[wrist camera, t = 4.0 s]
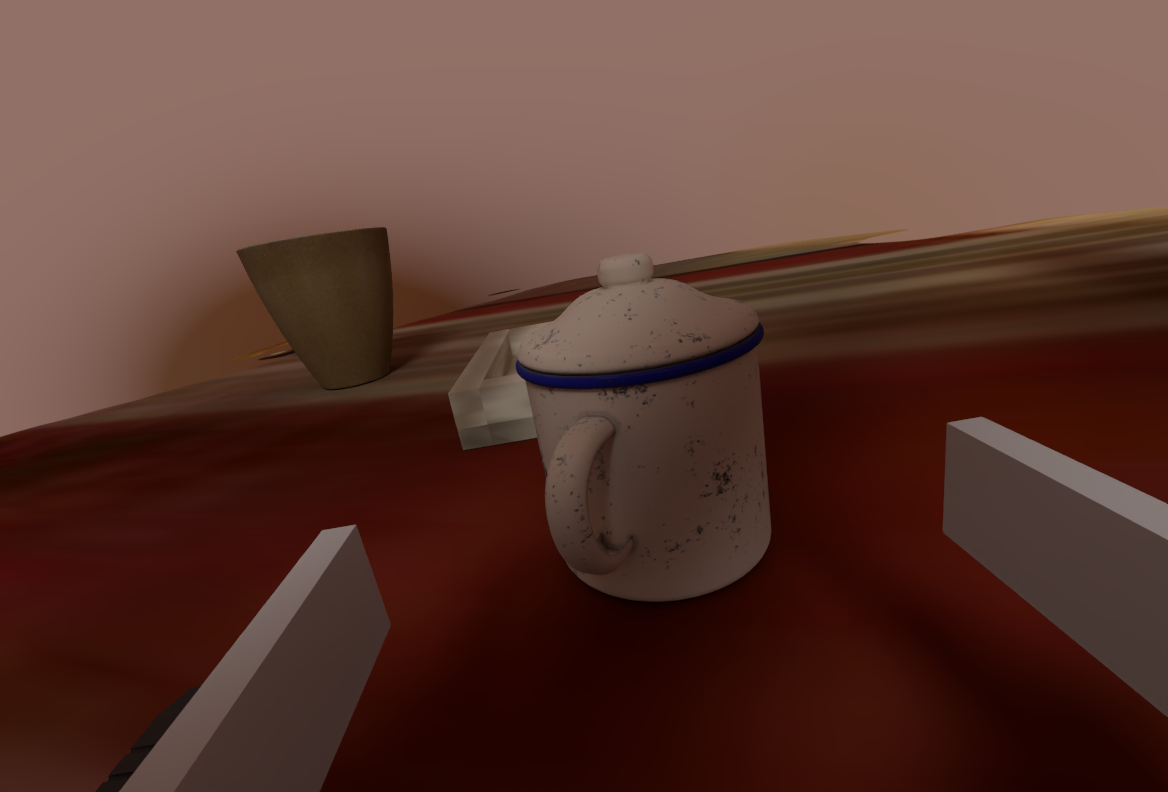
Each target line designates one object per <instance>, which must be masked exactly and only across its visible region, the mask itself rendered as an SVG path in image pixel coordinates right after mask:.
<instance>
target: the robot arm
mask: <svg viewBox="0 0 1168 792" xmlns="http://www.w3.org/2000/svg"><path fill="white" fill-rule="evenodd" d="M943 533H945V534H946V535H947V536H948V537H949V538H951V539H952V540H953V541H954V542H955V543H957V544H958V545H959V546H960V547H962V548H963V549H964V550H965V551H966V552H968V553H969V554H970V555H971V556H972V557H974V558H975V559H976V560H977V561H979V562H980V563H981V564H982V565H983V566H985V567H986V568H987V569H988V570H989V571H991V572H992V573H993V574H994V575H996V576H997V577H998V578H999V579H1000V580H1002V581H1003V582H1004V583H1005V584H1006V585H1008V586H1009V587H1010V588H1011V589H1013V590H1014V591H1015V592H1016V593H1017V594H1019V595H1020V596H1021V597H1022V598H1023V599H1025V600H1026V601H1027V602H1028V603H1030V604H1031V605H1032V606H1033V607H1034V608H1036V609H1037V610H1038V611H1039V612H1040V613H1042V614H1043V615H1044V616H1045V617H1047V618H1048V619H1049V620H1050V621H1051V622H1053V623H1054V624H1055V625H1056V626H1057V627H1059V628H1060V629H1061V630H1062V631H1064V632H1065V633H1066V634H1067V635H1068V636H1070V637H1071V638H1072V639H1073V640H1074V641H1076V642H1077V643H1078V644H1079V645H1081V646H1082V647H1083V648H1084V649H1085V650H1087V651H1088V652H1089V653H1090V654H1091V655H1093V656H1094V657H1095V658H1096V659H1098V660H1099V661H1100V662H1101V663H1102V664H1104V665H1105V666H1106V667H1107V668H1108V669H1110V670H1111V671H1112V672H1113V673H1115V674H1116V675H1117V676H1118V677H1119V678H1121V679H1122V680H1123V681H1124V682H1125V683H1127V684H1128V685H1129V686H1130V687H1132V688H1133V689H1134V690H1135V691H1136V692H1138V693H1139V694H1140V695H1141V696H1142V697H1144V698H1145V699H1146V700H1147V701H1149V702H1150V703H1151V704H1152V705H1153V706H1155V707H1156V708H1157V709H1158V710H1159V711H1161V712H1162V713H1163V714H1164V715H1166V716H1167V717H1168V504H1166V503H1164V502H1162V501H1160V500H1158V499H1156V498H1154V497H1152V496H1149V495H1147V494H1145V493H1143V492H1141V491H1139V490H1137V489H1135V488H1132V487H1130V486H1128V485H1126V484H1124V483H1122V482H1120V481H1118V480H1115V479H1113V478H1111V477H1109V476H1107V475H1105V474H1103V473H1101V472H1098V471H1096V470H1094V469H1092V468H1090V467H1088V466H1086V465H1084V464H1081V463H1079V462H1077V461H1075V460H1073V459H1071V458H1069V457H1067V456H1064V455H1062V454H1060V453H1058V452H1056V451H1054V450H1052V449H1050V448H1047V447H1045V446H1043V445H1041V444H1039V443H1037V442H1035V441H1033V440H1030V439H1028V438H1026V437H1024V436H1022V435H1020V434H1018V433H1016V432H1013V431H1011V430H1009V429H1007V428H1005V427H1003V426H1001V425H999V424H996V423H994V422H992V421H990V420H988V419H986V418H984V417H978V418H972V419H967V420H961V421H955V422H949V423H947V433H946V460H945V487H944V514H943ZM390 626H391V624H390V621H389V618H388V615H387V613H386V610H385V607H384V604H383V601H382V598H381V595H380V592H379V589H378V587H377V584H376V581H375V578H374V575H373V572H372V569H371V566H370V563H369V561H368V558H367V555H366V552H365V549H364V546H363V543H362V540H361V537H360V535H359V532H358V529H357V526H356V525H351V526H345V527H340V528H334V529H328V530H322V532H321V533H320V534H319V535H318V537H317V538H316V539H315V541H314V542H313V543H312V544H311V546H310V547H309V548H308V550H307V551H306V552H305V553H304V555H303V556H302V557H301V559H300V560H299V561H298V562H297V564H296V565H295V566H294V568H293V569H292V570H291V571H290V573H289V574H288V575H287V577H286V578H285V579H284V580H283V582H282V583H281V584H280V586H279V587H278V588H277V589H276V591H275V592H274V593H273V595H272V596H271V597H270V598H269V600H268V601H267V602H266V604H265V605H264V606H263V607H262V609H261V610H260V611H259V613H258V614H257V615H256V616H255V618H254V619H253V620H252V622H251V623H250V624H249V625H248V627H247V628H246V629H245V631H244V632H243V633H242V634H241V636H240V637H239V638H238V640H237V641H236V642H235V643H234V645H233V646H232V647H231V649H230V650H229V651H228V652H227V654H226V655H225V656H224V658H223V659H222V660H221V661H220V663H219V664H218V665H217V667H216V668H215V669H214V670H213V672H212V673H211V674H210V676H209V677H208V678H207V679H206V681H205V682H204V683H203V685H202V686H200V687H194V688H190V689H189V690H188V691H187V692H185V693H184V694H183V695H182V696H181V697H180V698H178V699H177V700H176V701H175V702H174V703H172V704H171V705H170V706H169V707H168V708H167V709H165V710H164V711H163V712H162V713H161V714H160V715H158V716H157V717H156V718H155V720H154V721H153V722H152V723H151V725H150V726H149V727H148V728H147V729H146V731H145V732H144V733H143V734H142V736H141V737H140V738H139V739H138V740H137V742H136V743H135V744H134V745H133V747H132V748H131V753H130V754H128V755H125V756H124V758H123V759H122V760H121V761H120V762H119V764H118V765H117V766H116V767H115V769H114V770H113V771H112V772H111V773H110V775H109V780H108V782H104V783H102V784H101V786H100V787H99V788H98V789H97V790H96V792H320V790H321V787H322V785H323V783H324V780H325V778H326V776H327V773H328V771H329V768H330V766H331V764H332V761H333V759H334V757H335V754H336V752H337V750H338V747H339V745H340V743H341V740H342V738H343V736H344V733H345V731H346V729H347V726H348V724H349V722H350V719H351V717H352V715H353V712H354V710H355V708H356V705H357V703H358V701H359V698H360V696H361V694H362V691H363V689H364V687H365V684H366V682H367V680H368V677H369V675H370V673H371V670H372V668H373V666H374V663H375V661H376V659H377V656H378V654H379V652H380V649H381V647H382V645H383V642H384V640H385V637H386V635H387V633H388V630H389V628H390Z"/></svg>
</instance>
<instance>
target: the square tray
mask: <svg viewBox="0 0 1168 792" xmlns="http://www.w3.org/2000/svg"><path fill="white" fill-rule="evenodd" d="M552 322H553V321H552ZM550 323H551V322H547V323H541V324H536V325H530V326H524V327H519V328H513V329H507V330H502V331H496V332H490V333H489V334H488V336H487V337H486V339H485V340H484V342H483V343H482V345H481V346H480V348H479V349H478V351H477V352H476V354H475V355H474V356H473V358H472V359H471V361H470V362H469V364H468V365H467V367H466V368H465V370H464V371H463V373H462V374H461V376H460V377H459V379H458V380H457V382H456V383H455V384H454V386H453V387H452V389H451V390H450V392H449V393H448V395H449V399H450V403H451V407H452V411H453V414H454V418H455V422H456V426H457V430H458V433H459V437H460V441H461V445H462V449H463V450H468V449H473V448H479V447H485V446H491V445H497V444H502V443H508V442H514V441H520V440H526V439H531V438H537V433H536V428H535V424H534V419H533V414H532V410H531V405H530V400H529V396H528V391H527V386H526V382H525V380H524V379H522V378H521V377H520V376H519V375H518V373H517V371H516V362H517V360H518V358H517V352H518V349H519V346H520V344H521V343H522V341H523V340H524V339H525V338H526V337H527V336H528V335H529V334H531V333H532V332H534V331H536V330H538V329H539V328H542V327H544V326H546V325H548V324H550Z"/></svg>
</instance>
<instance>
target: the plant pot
mask: <svg viewBox="0 0 1168 792" xmlns="http://www.w3.org/2000/svg"><path fill="white" fill-rule="evenodd" d="M236 252H237V254H238V256H239V258H240V260H241V262H242V264H243V266H244V268H245V270H246V272H247V274H248V276H249V278H250V280H251V282H252V283H253V285H254V287H255V289H256V291H257V293H258V295H259V296H260V298H261V300H262V302H263V303H264V305H265V307H266V308H267V310H268V312H269V313H270V315H271V317H272V318H273V320H274V322H275V323H276V325H277V326H278V328H279V329H280V331H281V333H282V334H283V335H284V337H285V338H286V340H287V341H288V343H289V344H290V346H291V347H292V349H293V350H294V351H295V353H296V354H297V356H298V357H299V358H300V360H301V361H302V362H303V363H304V365H305V366H306V367H307V369H308V370H309V371H310V372H311V374H312V375H313V376H314V377H315V378H316V380H317V381H318V382H319V383H320V384H321V386H322V387H323V388H325V389H340V388H346V387H352V386H356V385H360V384H364V383H367V382H371V381H374V380H376V379H379V378H381V377H383V376H385V375H387V374H388V373H389V371H390V362H391V352H392V338H393V289H392V272H391V262H390V253H389V245H388V236H387V229H386V228H384V227H375V228H363V229H354V230H345V231H337V232H329V233H322V234H315V235H308V236H302V237H295V238H289V239H283V240H278V241H272V242H268V243H262V244H257V245H253V246H248V247H245V248H242V249H238V250H237V251H236Z"/></svg>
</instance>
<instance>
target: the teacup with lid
mask: <svg viewBox="0 0 1168 792" xmlns="http://www.w3.org/2000/svg"><path fill="white" fill-rule="evenodd" d="M597 275H598V280H599V282H600V284H601V285H602V286H603V287H601V288H598V289H594V290H592V291H589V292H587V293H585V294H584V295H582V296H580V297H579V298H577V299H576V300H575V301H574V302H573V303H572V304H571V305H570V306H569V307H568V308H567V309H566V310H565V311H564V312H563V313H562V314H561V315H560V316H559V317H558V318H557V319H556V320H554V321H553V322H551V323H550V324H548V325H546V326H544V327H542V328H539V329H538V330H536V331H534V332H532V333H531V334H529V335H528V336H527V337H526V338H525V339H524V340H523V341H522V343H521V344H520V346H519V349H518V352H517V358H518V360H517V362H516V371H517V373H518V375H519V376H520V377H521V378H522V379H524V380H525V382H526V386H527V391H528V396H529V400H530V405H531V410H532V414H533V419H534V424H535V428H536V433H537V438H538V442H539V447H540V451H541V456H542V461H543V465H544V470H545V475H546V486H545V505H546V513H547V519H548V524H549V528H550V531H551V535H552V537H553V540H554V543H555V545H556V547H557V549H558V551H559V552H560V554H561V556H562V557H563V559H564V560H565V561H566V563H567V565H568V566H569V568H570V569H571V570H572V572H573V573H574V574H575V575H576V576H577V577H578V578H579V579H581V580H582V581H583V582H584V583H586V584H588V585H589V586H591V587H593V588H595V589H597V590H599V591H601V592H603V593H606V594H609V595H612V596H615V597H619V598H624V599H629V600H636V601H649V602H664V601H676V600H682V599H688V598H693V597H698V596H701V595H705V594H708V593H711V592H714V591H716V590H719V589H721V588H723V587H726V586H728V585H730V584H731V583H733V582H735V581H737V580H738V579H740V578H741V577H743V576H744V575H745V574H747V573H748V572H749V571H750V570H751V569H752V568H753V567H754V566H755V565H756V564H757V563H758V562H759V561H760V559H761V558H762V557H763V555H764V553H765V551H766V549H767V547H768V545H769V542H770V536H771V520H770V507H769V494H768V481H767V467H766V454H765V441H764V427H763V414H762V401H761V388H760V374H759V361H758V348H757V345H758V344H759V343H760V341H761V340H762V338H763V335H764V331H763V327H762V325H761V323H759V318H758V316H757V314H756V313H755V311H754V310H753V309H752V308H751V307H750V306H749V305H747V304H745V303H743V302H741V301H737V300H733V299H728V298H719V297H713V296H710V295H706V294H704V293H702V292H700V291H698V290H696V289H694V288H692V287H690V286H689V285H687V284H685V283H682V282H679V281H676V280H671V279H651V277H652V275H653V263H652V259H651V257H650V256H649V255H648V254H646V253H644V252H638V253H630V254H623V255H618V256H613V257H609V258H605V259H602V260H601V261H600V262H599V264H598V266H597Z"/></svg>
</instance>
